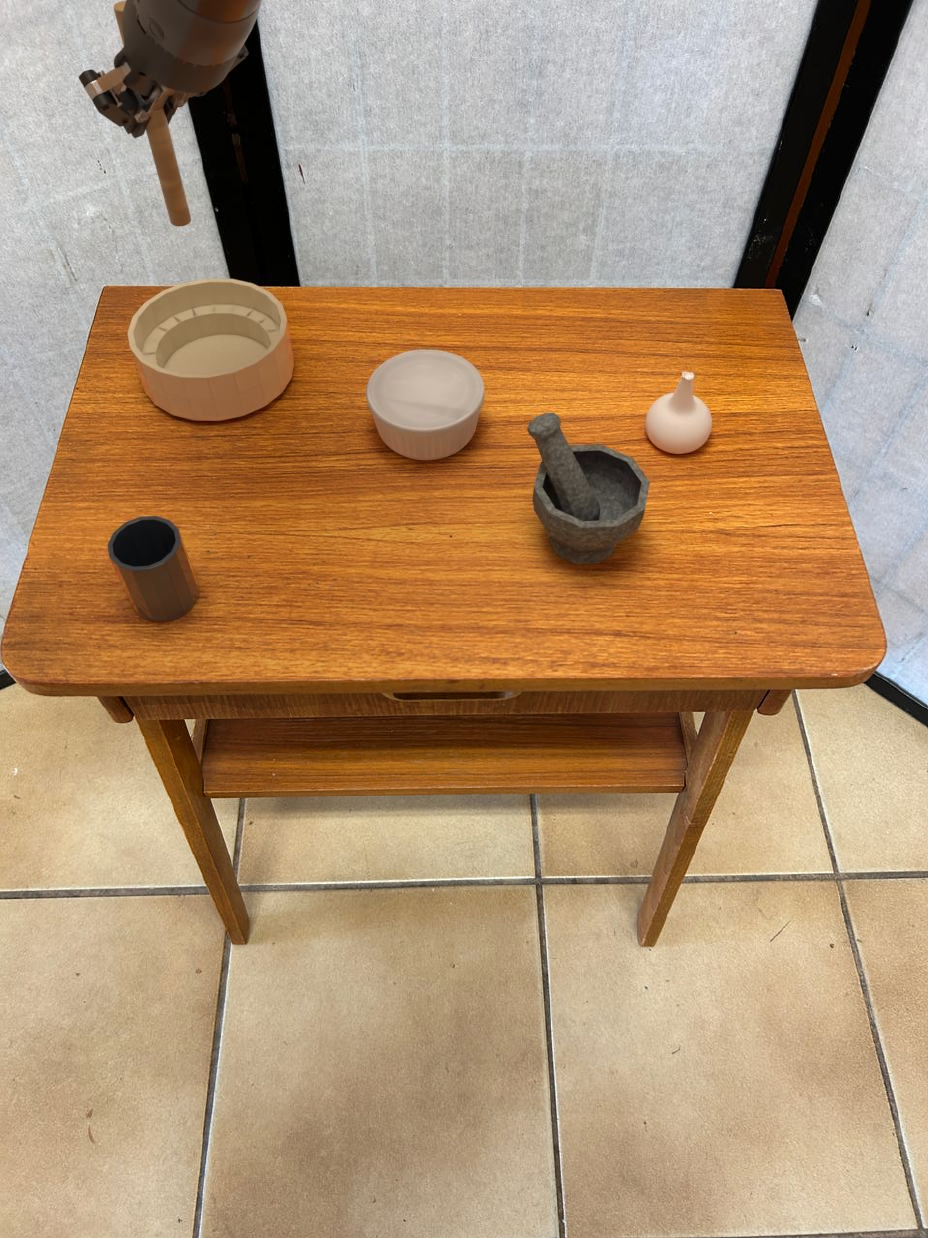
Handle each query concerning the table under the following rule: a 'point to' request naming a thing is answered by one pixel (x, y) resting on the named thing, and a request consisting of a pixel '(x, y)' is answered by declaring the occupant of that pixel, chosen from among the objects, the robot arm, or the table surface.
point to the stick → (163, 155)
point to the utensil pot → (154, 568)
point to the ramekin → (425, 403)
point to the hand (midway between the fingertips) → (143, 120)
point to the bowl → (212, 349)
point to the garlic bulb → (679, 419)
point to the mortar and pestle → (585, 494)
